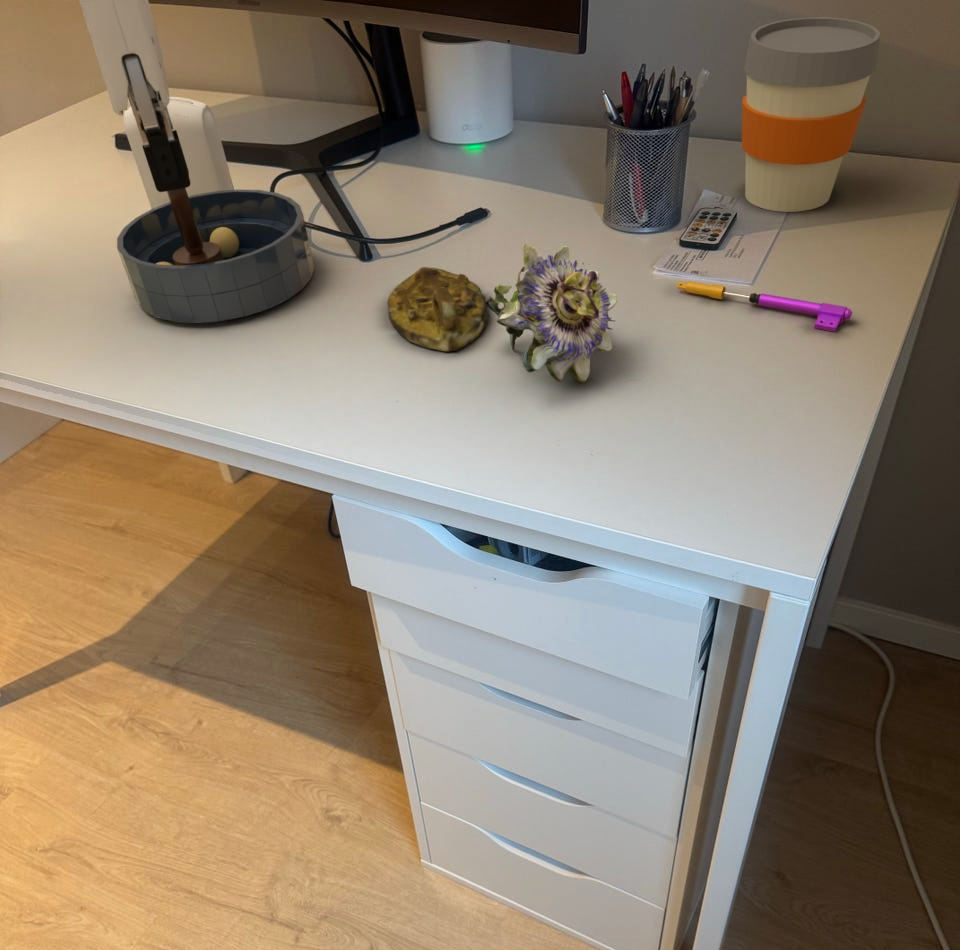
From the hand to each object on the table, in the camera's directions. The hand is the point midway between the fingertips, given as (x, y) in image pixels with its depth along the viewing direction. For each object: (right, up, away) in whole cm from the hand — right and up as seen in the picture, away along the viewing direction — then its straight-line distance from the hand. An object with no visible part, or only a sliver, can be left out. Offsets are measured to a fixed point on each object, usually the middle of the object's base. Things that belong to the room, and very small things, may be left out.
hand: (173, 182), depth 86 cm
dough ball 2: (+2, -1, +10) cm, 10 cm away
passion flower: (+35, -19, -7) cm, 41 cm away
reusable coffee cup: (+63, +5, +13) cm, 64 cm away
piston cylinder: (+54, -14, -4) cm, 56 cm away
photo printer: (-4, +6, +21) cm, 22 cm away
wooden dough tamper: (+1, -6, +6) cm, 9 cm away
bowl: (+3, -7, +8) cm, 11 cm away
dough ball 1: (-2, -7, +5) cm, 9 cm away
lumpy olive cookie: (+25, -13, 0) cm, 28 cm away
